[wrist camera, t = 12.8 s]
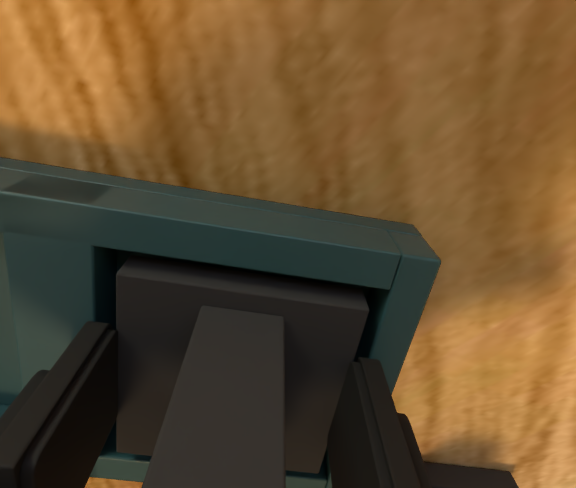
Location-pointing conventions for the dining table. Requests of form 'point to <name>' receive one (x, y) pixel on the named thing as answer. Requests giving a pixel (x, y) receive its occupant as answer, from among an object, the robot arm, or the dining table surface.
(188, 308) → the dark brown stand
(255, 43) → the dining table surface
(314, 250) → the dock board
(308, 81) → the dining table surface
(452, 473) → the pad
